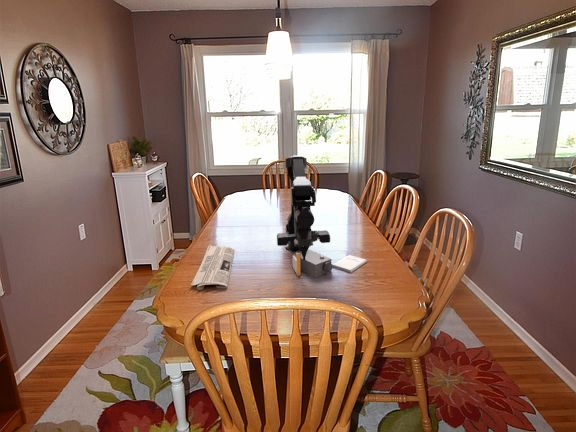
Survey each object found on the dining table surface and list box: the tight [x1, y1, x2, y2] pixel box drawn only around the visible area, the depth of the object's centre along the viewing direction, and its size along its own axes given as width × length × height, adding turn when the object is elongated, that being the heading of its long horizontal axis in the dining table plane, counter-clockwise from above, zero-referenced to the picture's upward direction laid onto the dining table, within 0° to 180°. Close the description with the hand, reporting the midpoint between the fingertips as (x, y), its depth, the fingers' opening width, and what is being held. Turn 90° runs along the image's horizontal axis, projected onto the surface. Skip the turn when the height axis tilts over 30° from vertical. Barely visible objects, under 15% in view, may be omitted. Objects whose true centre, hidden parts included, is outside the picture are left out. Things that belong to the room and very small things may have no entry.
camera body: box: [294, 249, 333, 278], centre depth 142 cm, size 14×8×6 cm, turn 38°
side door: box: [291, 252, 301, 277], centre depth 140 cm, size 8×1×8 cm, turn 14°
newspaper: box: [190, 244, 235, 291], centre depth 145 cm, size 35×12×4 cm, turn 4°
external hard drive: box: [332, 254, 368, 273], centre depth 147 cm, size 2×8×12 cm
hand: (304, 259), depth 136 cm, fingers closed
